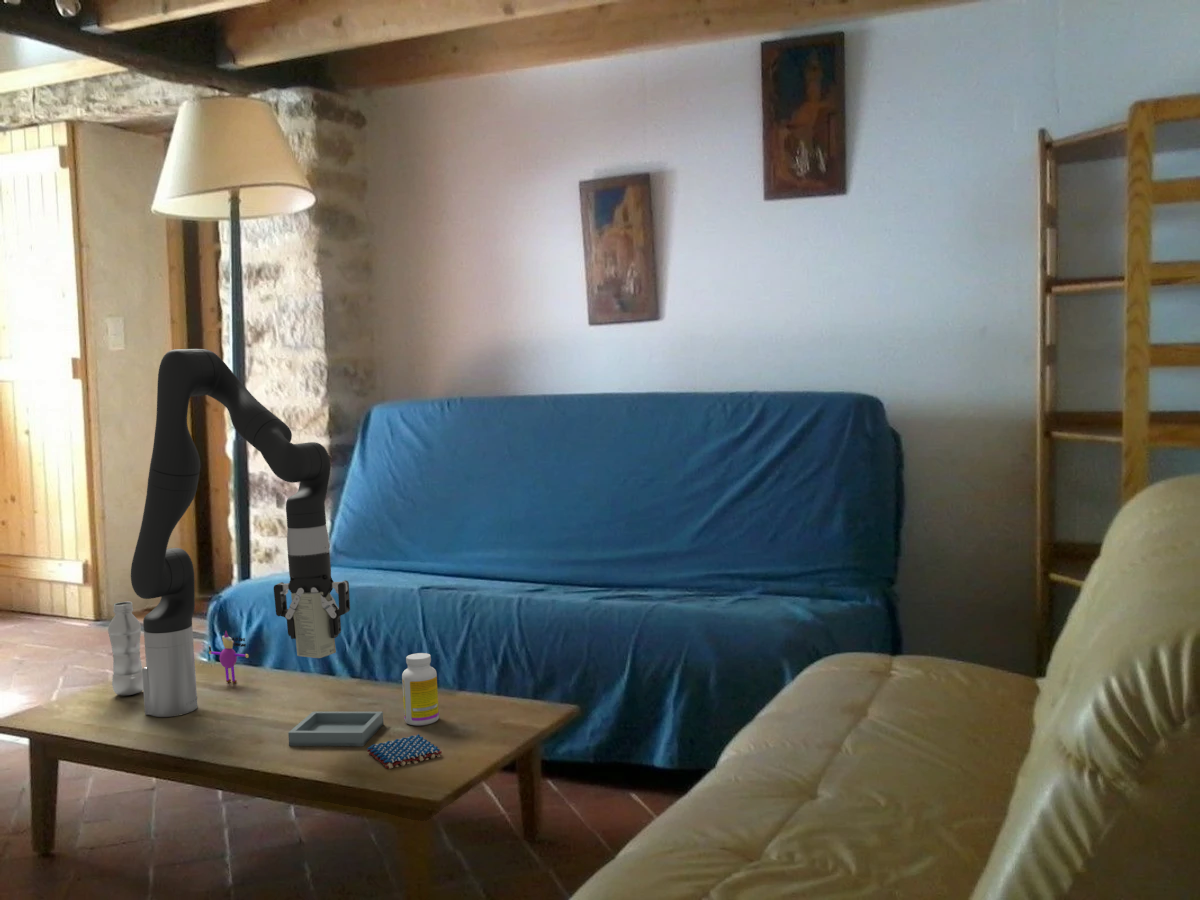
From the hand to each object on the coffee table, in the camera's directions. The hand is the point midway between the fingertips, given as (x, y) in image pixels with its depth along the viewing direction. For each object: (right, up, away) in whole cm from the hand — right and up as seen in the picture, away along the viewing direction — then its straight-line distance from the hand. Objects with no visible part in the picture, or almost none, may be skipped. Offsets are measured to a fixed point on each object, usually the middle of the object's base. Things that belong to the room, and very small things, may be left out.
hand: (315, 637), depth 201 cm
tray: (+4, -19, +1) cm, 19 cm away
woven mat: (+19, -20, -10) cm, 29 cm away
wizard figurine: (-29, -17, +38) cm, 51 cm away
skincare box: (0, -3, 0) cm, 4 cm away
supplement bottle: (+19, -18, +8) cm, 27 cm away
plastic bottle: (-49, -18, +33) cm, 61 cm away
